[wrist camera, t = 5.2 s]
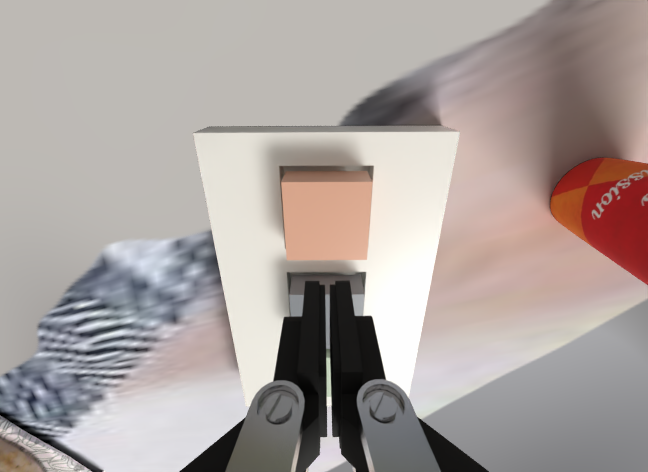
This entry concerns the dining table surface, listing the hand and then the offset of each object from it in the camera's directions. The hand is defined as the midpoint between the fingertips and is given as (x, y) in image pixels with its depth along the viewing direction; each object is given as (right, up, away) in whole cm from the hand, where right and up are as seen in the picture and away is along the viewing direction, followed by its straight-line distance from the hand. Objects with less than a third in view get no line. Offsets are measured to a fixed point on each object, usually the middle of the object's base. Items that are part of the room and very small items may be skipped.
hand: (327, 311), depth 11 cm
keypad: (0, -1, +15) cm, 15 cm away
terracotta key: (0, +5, +9) cm, 10 cm away
